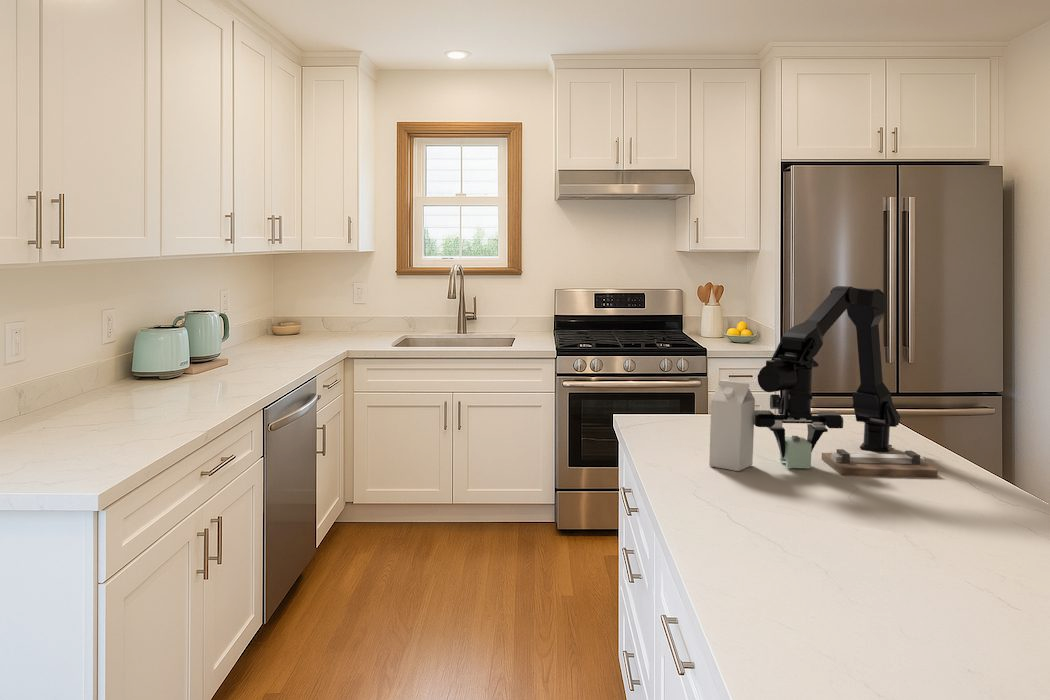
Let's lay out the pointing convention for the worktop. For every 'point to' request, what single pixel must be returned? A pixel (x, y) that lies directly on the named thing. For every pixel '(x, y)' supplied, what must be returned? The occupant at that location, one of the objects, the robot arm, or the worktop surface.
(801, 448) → the block
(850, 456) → the rail board
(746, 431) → the milk carton
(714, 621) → the worktop surface
